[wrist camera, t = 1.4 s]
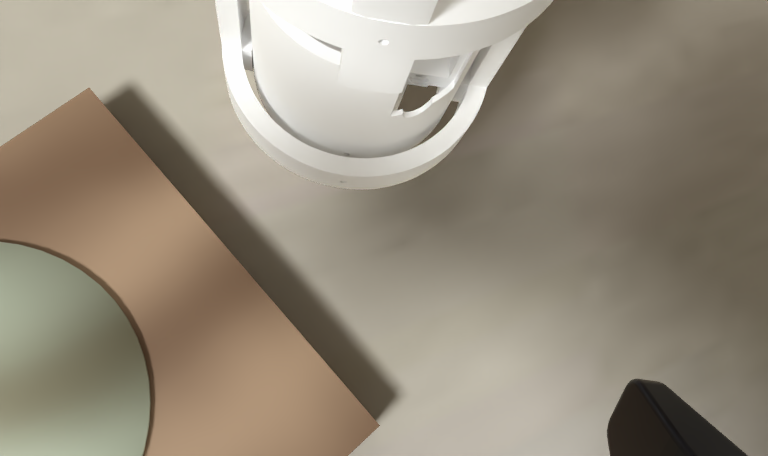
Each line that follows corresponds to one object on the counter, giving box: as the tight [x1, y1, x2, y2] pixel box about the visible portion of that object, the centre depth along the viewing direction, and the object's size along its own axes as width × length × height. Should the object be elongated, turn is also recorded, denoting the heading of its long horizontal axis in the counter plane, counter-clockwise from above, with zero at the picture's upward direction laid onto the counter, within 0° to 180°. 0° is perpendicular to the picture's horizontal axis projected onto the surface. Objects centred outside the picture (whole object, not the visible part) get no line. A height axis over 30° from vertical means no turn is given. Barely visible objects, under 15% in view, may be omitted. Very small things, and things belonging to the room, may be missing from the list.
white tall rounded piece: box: [215, 0, 554, 190], centre depth 18 cm, size 7×7×15 cm
